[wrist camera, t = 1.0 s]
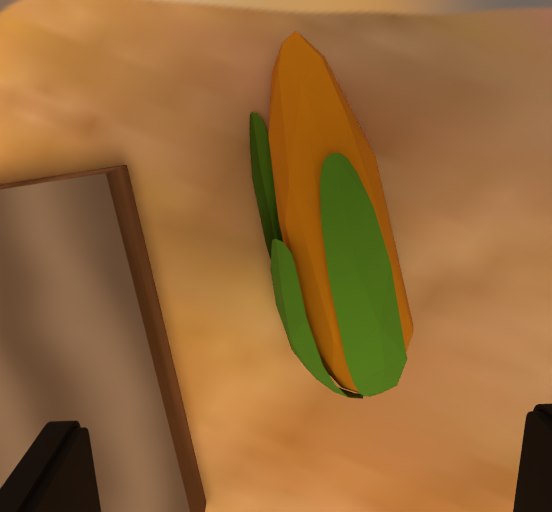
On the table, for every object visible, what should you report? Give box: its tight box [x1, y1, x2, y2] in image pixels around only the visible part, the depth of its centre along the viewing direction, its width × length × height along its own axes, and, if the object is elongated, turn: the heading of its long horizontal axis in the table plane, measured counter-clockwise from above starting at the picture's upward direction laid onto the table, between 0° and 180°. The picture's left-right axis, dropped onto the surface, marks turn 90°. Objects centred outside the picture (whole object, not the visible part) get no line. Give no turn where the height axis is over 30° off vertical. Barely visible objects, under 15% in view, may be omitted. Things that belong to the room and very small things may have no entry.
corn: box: [250, 31, 413, 398], centre depth 26 cm, size 7×8×20 cm
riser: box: [0, 165, 206, 512], centre depth 29 cm, size 12×24×4 cm, turn 9°
